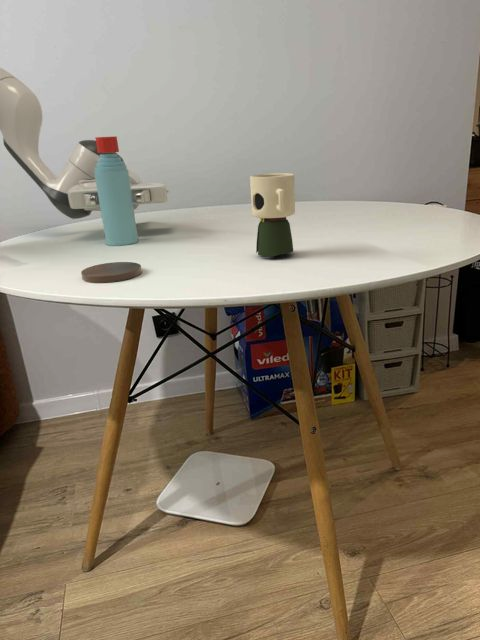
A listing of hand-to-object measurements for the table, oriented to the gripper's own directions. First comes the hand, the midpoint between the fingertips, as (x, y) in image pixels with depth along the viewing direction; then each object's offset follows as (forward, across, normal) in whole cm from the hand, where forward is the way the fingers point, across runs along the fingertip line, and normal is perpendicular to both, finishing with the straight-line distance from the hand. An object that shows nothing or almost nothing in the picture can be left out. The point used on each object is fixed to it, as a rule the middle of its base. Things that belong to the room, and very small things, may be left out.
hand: (115, 199), depth 100 cm
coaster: (+28, -1, -8) cm, 29 cm away
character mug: (+24, -27, -9) cm, 37 cm away
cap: (0, 0, +11) cm, 11 cm away
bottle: (0, 0, -8) cm, 9 cm away
